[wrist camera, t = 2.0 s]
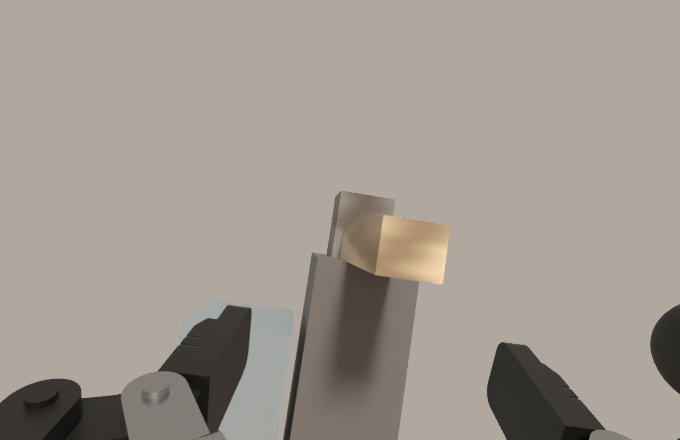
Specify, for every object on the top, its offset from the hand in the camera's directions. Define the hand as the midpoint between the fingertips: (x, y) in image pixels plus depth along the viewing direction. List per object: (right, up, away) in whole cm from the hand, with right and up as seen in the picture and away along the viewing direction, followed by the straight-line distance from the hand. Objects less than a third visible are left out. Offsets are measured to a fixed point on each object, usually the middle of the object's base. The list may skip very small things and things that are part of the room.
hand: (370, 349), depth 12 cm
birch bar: (+1, +1, +17) cm, 17 cm away
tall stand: (-4, -31, +19) cm, 37 cm away
